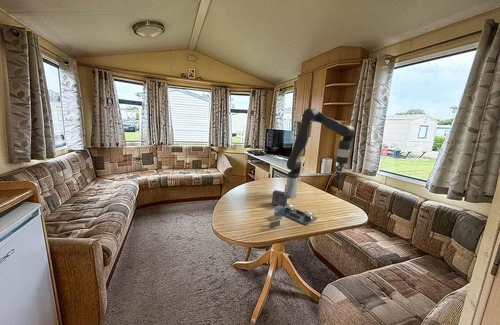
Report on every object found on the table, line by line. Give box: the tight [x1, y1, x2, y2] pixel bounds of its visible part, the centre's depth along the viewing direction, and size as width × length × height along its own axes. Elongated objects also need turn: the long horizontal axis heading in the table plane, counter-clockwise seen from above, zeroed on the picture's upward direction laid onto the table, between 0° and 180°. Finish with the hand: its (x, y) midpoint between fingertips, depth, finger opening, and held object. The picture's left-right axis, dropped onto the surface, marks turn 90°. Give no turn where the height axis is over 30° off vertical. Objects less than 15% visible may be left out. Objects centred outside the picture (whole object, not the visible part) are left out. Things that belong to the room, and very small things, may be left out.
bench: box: [283, 203, 318, 226], centre depth 146 cm, size 21×14×6 cm, turn 45°
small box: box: [271, 189, 288, 208], centre depth 163 cm, size 11×6×10 cm, turn 65°
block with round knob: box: [273, 205, 285, 218], centre depth 144 cm, size 7×4×7 cm, turn 135°
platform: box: [267, 215, 283, 229], centre depth 131 cm, size 12×18×7 cm, turn 123°
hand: (338, 178), depth 148 cm, fingers open, 8 cm apart
